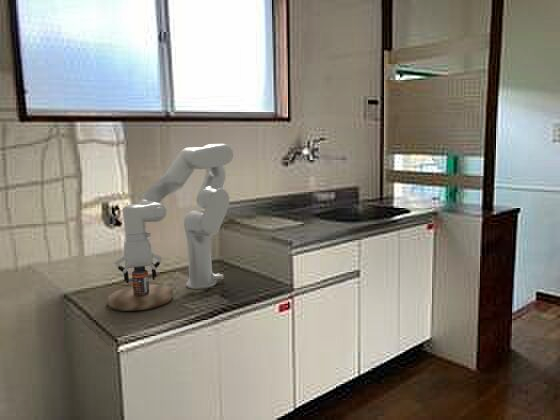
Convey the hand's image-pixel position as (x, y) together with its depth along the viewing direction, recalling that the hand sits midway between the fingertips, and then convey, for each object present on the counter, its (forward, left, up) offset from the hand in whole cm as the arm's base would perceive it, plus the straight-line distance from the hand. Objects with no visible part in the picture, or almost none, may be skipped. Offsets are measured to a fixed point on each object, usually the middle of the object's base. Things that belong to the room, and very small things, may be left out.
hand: (140, 280), depth 179 cm
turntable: (0, 0, -8) cm, 8 cm away
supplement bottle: (0, 0, -6) cm, 6 cm away
